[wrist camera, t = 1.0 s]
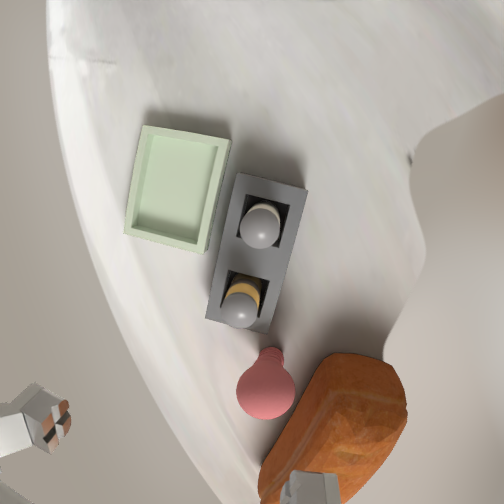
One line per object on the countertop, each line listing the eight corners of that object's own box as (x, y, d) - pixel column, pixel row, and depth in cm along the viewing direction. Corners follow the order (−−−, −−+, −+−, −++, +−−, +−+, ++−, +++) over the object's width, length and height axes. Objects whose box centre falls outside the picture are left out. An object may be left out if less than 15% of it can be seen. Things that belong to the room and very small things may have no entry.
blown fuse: (236, 265, 41) (224, 291, 32) (265, 272, 41) (261, 300, 32) (230, 292, 42) (217, 323, 33) (258, 299, 42) (252, 332, 33)
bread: (402, 363, 43) (437, 431, 28) (318, 480, 51) (321, 539, 36) (324, 344, 43) (339, 420, 28) (255, 469, 52) (247, 531, 36)
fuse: (253, 197, 38) (244, 205, 30) (283, 204, 38) (284, 215, 30) (245, 226, 39) (235, 243, 31) (275, 234, 39) (274, 253, 31)
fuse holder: (241, 172, 38) (236, 172, 34) (305, 188, 37) (308, 191, 34) (211, 305, 42) (204, 318, 39) (268, 320, 42) (267, 334, 38)
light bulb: (234, 356, 44) (220, 411, 33) (265, 324, 42) (259, 376, 31) (272, 381, 45) (268, 438, 33) (304, 352, 43) (309, 407, 32)
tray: (150, 127, 37) (142, 125, 35) (232, 141, 37) (228, 139, 34) (131, 229, 41) (123, 233, 38) (207, 249, 40) (203, 254, 38)
